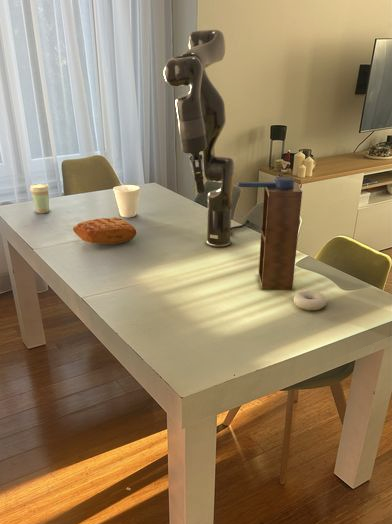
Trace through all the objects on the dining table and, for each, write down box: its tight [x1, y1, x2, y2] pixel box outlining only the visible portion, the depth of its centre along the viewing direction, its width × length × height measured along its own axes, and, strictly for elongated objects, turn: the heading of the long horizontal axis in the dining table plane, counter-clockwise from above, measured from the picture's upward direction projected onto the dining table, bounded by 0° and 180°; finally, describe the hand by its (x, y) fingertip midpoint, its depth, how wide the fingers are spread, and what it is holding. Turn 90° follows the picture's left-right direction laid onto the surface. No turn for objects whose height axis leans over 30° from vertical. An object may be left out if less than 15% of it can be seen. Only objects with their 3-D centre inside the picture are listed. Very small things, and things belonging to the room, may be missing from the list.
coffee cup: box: [29, 183, 50, 214], centre depth 251 cm, size 8×9×12 cm
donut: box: [293, 290, 327, 311], centre depth 167 cm, size 10×4×10 cm
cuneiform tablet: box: [72, 216, 138, 245], centre depth 216 cm, size 22×17×8 cm
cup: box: [112, 184, 141, 218], centre depth 246 cm, size 12×12×12 cm
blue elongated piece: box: [237, 176, 295, 189], centre depth 166 cm, size 17×6×2 cm, turn 90°
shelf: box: [257, 181, 303, 291], centre depth 175 cm, size 10×12×32 cm
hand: (200, 187), depth 168 cm, fingers open, 8 cm apart
